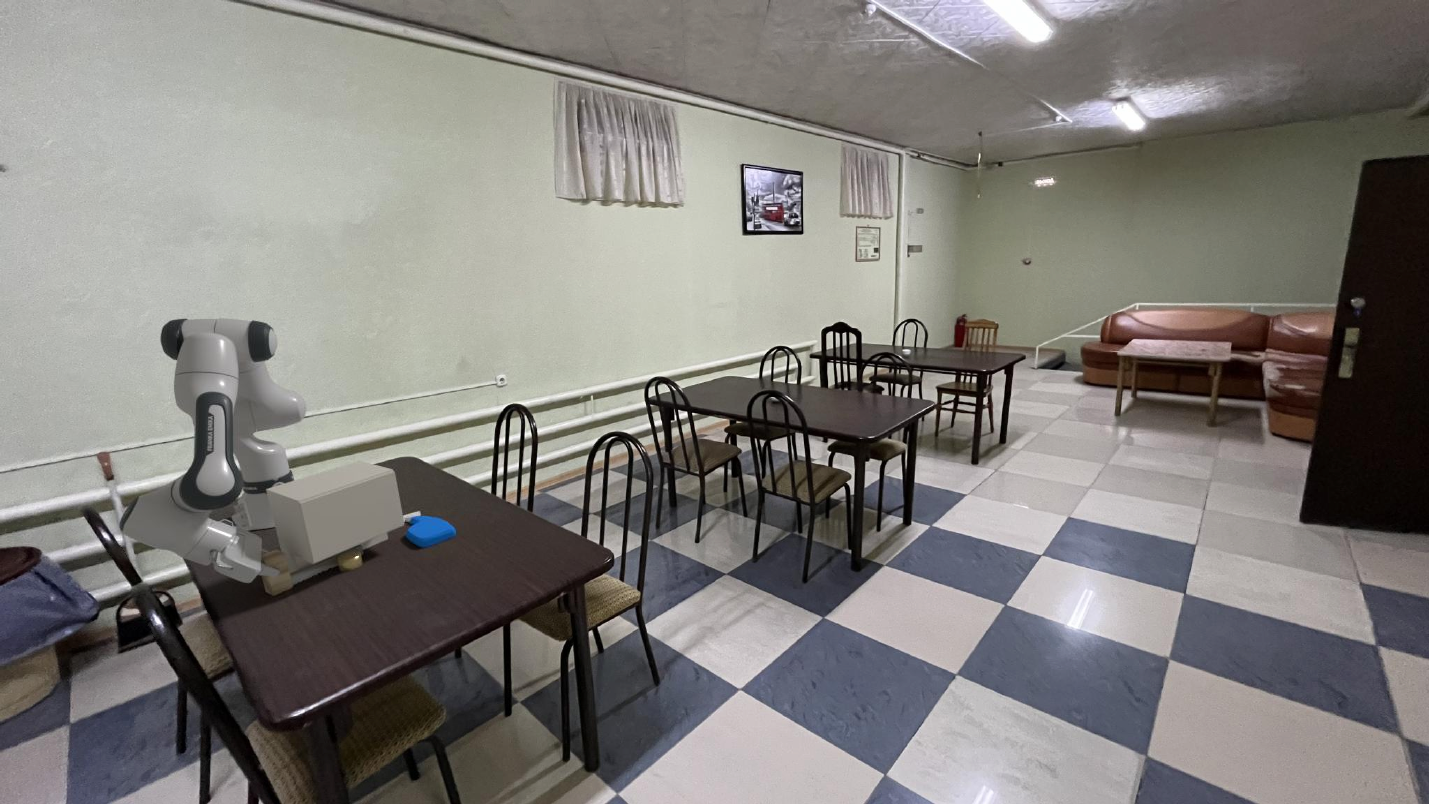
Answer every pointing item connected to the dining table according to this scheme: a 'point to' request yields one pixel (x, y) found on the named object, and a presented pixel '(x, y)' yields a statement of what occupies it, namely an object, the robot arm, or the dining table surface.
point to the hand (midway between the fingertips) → (277, 567)
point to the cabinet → (335, 512)
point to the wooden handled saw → (288, 579)
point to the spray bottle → (428, 530)
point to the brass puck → (350, 560)
